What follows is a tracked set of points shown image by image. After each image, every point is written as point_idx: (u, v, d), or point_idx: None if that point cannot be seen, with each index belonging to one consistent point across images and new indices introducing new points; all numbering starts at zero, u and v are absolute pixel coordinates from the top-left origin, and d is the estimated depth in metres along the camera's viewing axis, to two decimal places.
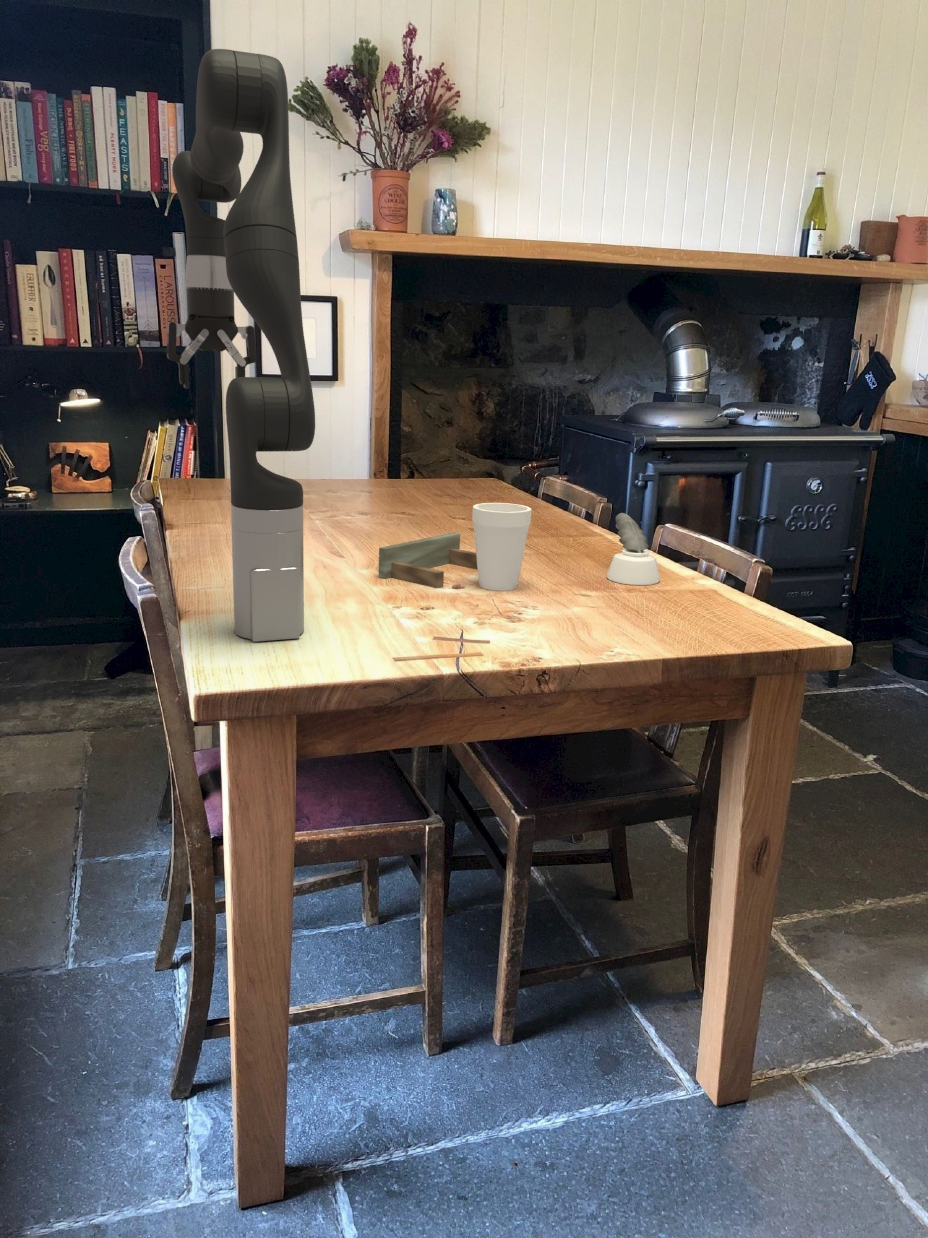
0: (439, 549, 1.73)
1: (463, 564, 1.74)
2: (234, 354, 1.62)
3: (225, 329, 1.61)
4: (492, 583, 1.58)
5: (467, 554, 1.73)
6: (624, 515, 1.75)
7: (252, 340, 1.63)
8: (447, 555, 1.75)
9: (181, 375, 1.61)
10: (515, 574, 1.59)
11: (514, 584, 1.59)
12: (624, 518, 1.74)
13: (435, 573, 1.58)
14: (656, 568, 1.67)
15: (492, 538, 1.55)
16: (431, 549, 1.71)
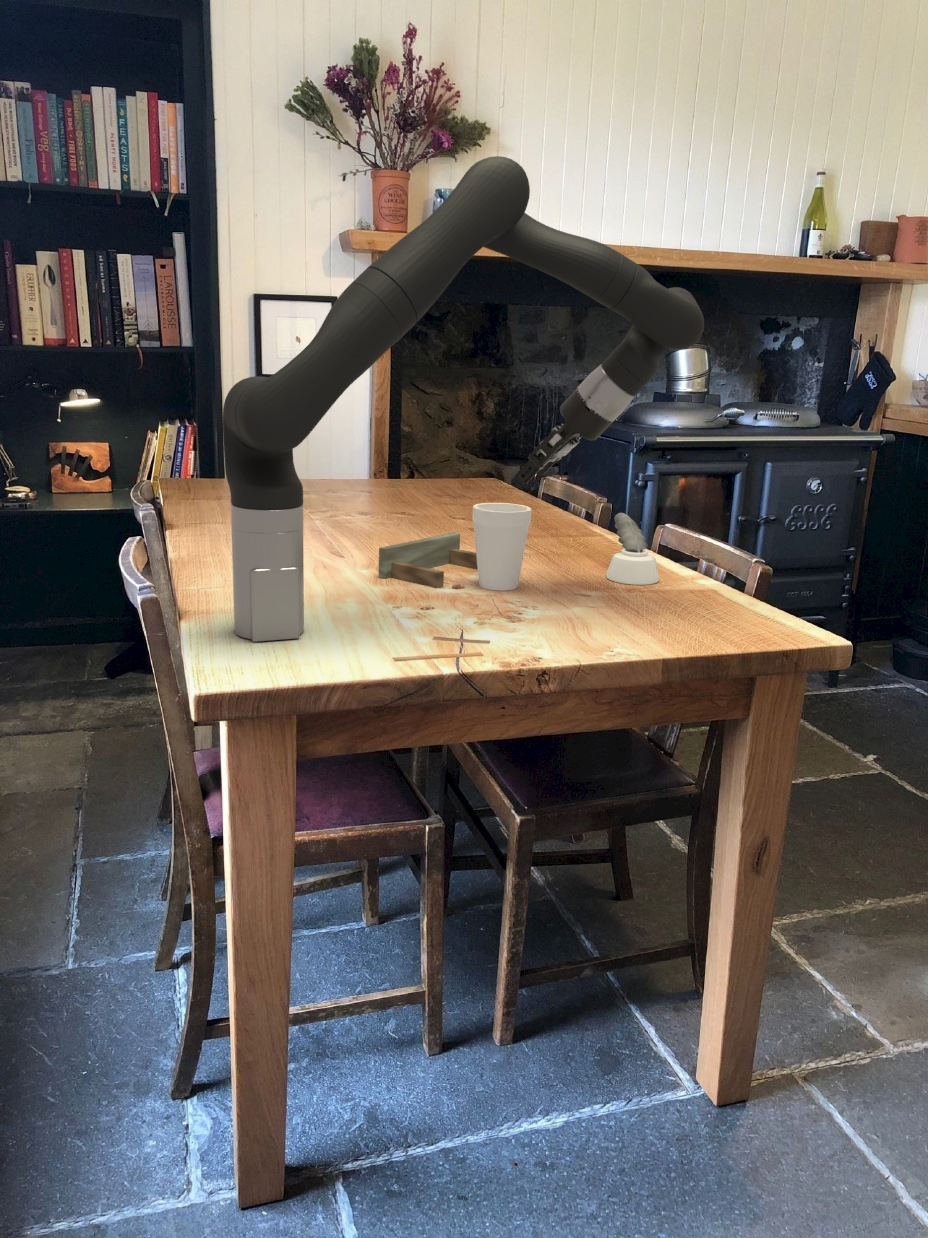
0: (439, 549, 1.73)
1: (463, 564, 1.74)
2: None
3: None
4: (492, 583, 1.58)
5: (467, 554, 1.73)
6: (623, 515, 1.75)
7: (543, 440, 1.47)
8: (447, 555, 1.75)
9: None
10: (515, 574, 1.59)
11: (514, 584, 1.59)
12: (623, 518, 1.74)
13: (435, 573, 1.58)
14: (655, 568, 1.68)
15: (492, 538, 1.55)
16: (431, 549, 1.71)
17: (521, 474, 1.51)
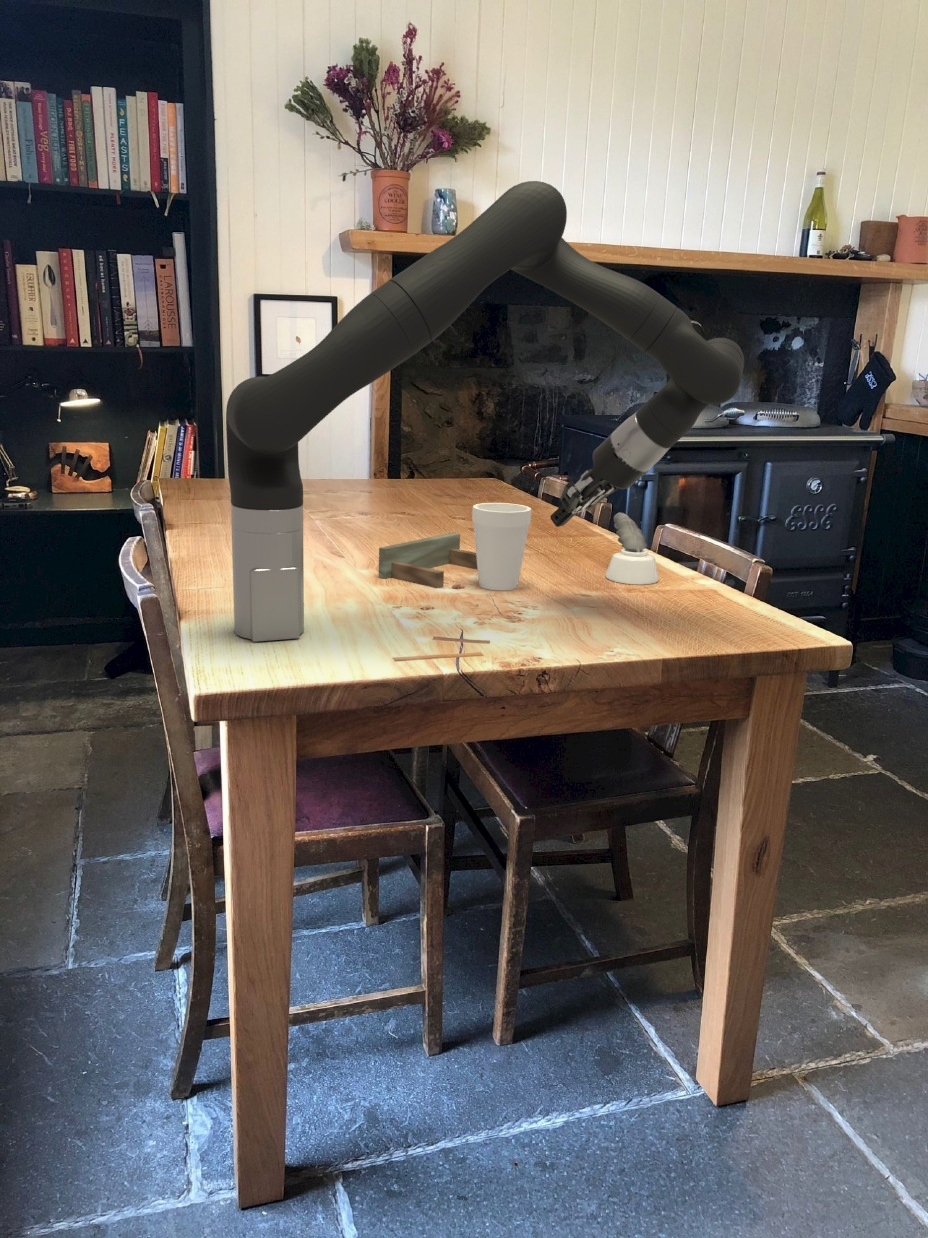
0: (439, 549, 1.73)
1: (463, 564, 1.74)
2: None
3: None
4: (492, 583, 1.58)
5: (467, 554, 1.73)
6: (622, 515, 1.75)
7: None
8: (447, 555, 1.75)
9: None
10: (515, 574, 1.59)
11: (514, 584, 1.59)
12: (622, 518, 1.74)
13: (435, 573, 1.58)
14: (655, 567, 1.68)
15: (492, 538, 1.55)
16: (431, 549, 1.71)
17: (555, 516, 1.51)
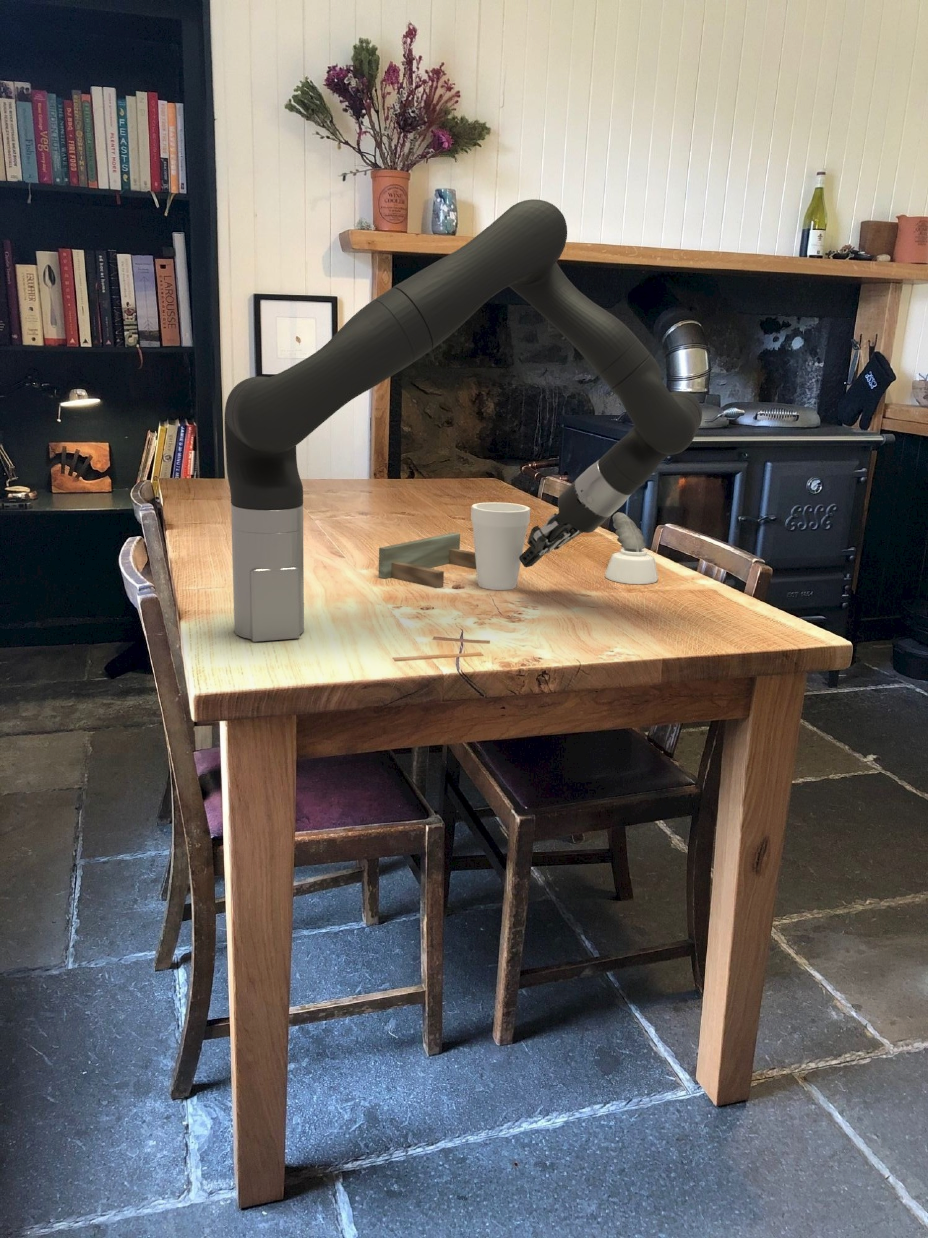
0: (439, 549, 1.73)
1: (463, 564, 1.74)
2: None
3: None
4: (491, 583, 1.58)
5: (467, 554, 1.73)
6: (621, 514, 1.75)
7: None
8: (447, 555, 1.75)
9: None
10: (514, 573, 1.59)
11: (513, 584, 1.60)
12: (621, 517, 1.74)
13: (435, 573, 1.58)
14: (654, 567, 1.68)
15: (491, 538, 1.55)
16: (431, 549, 1.71)
17: (523, 557, 1.56)
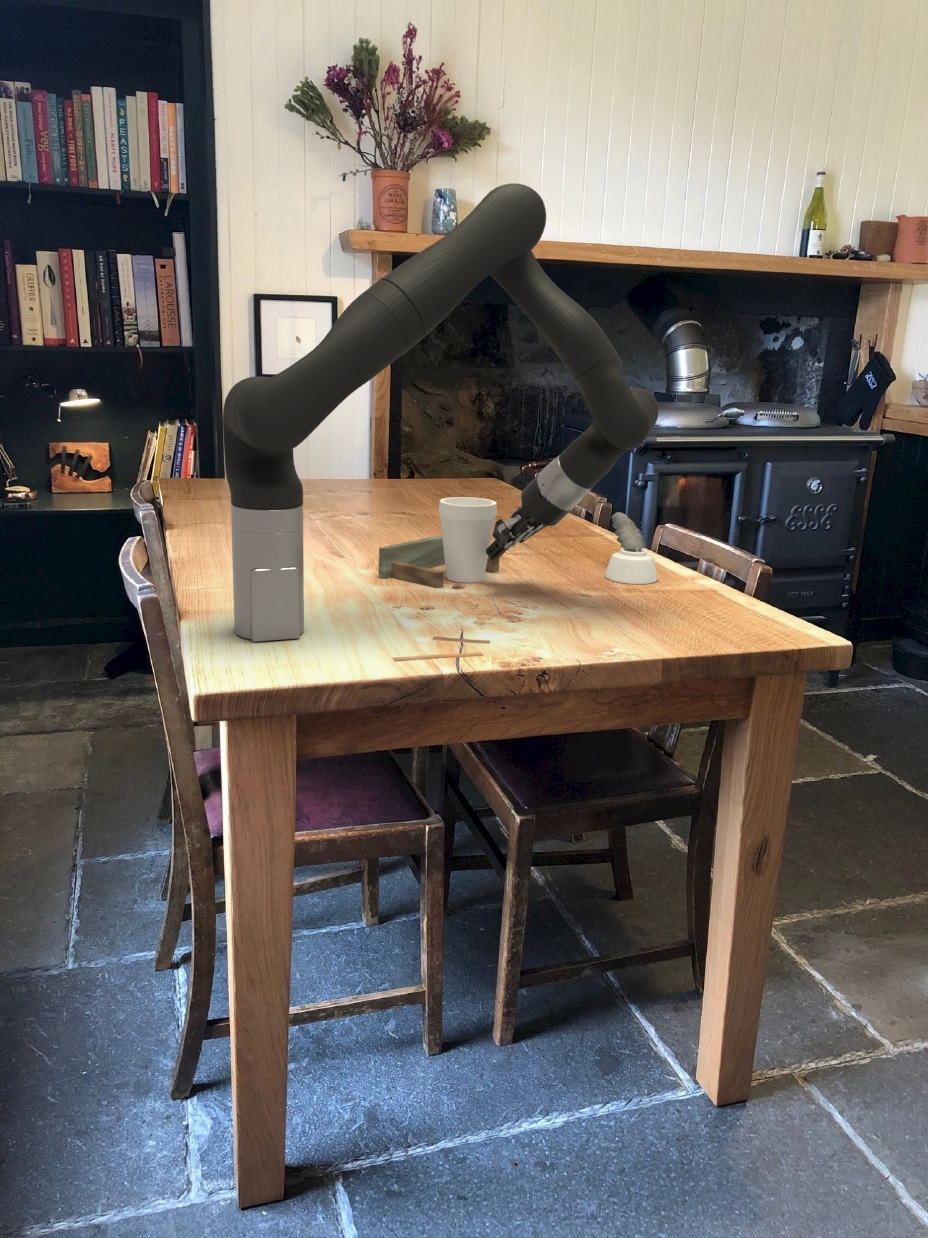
0: (439, 549, 1.73)
1: None
2: None
3: None
4: (459, 575, 1.62)
5: None
6: (621, 514, 1.75)
7: None
8: None
9: None
10: (481, 566, 1.63)
11: (480, 576, 1.64)
12: (621, 517, 1.74)
13: (435, 573, 1.58)
14: (654, 567, 1.68)
15: (458, 531, 1.59)
16: (431, 549, 1.71)
17: (489, 550, 1.59)
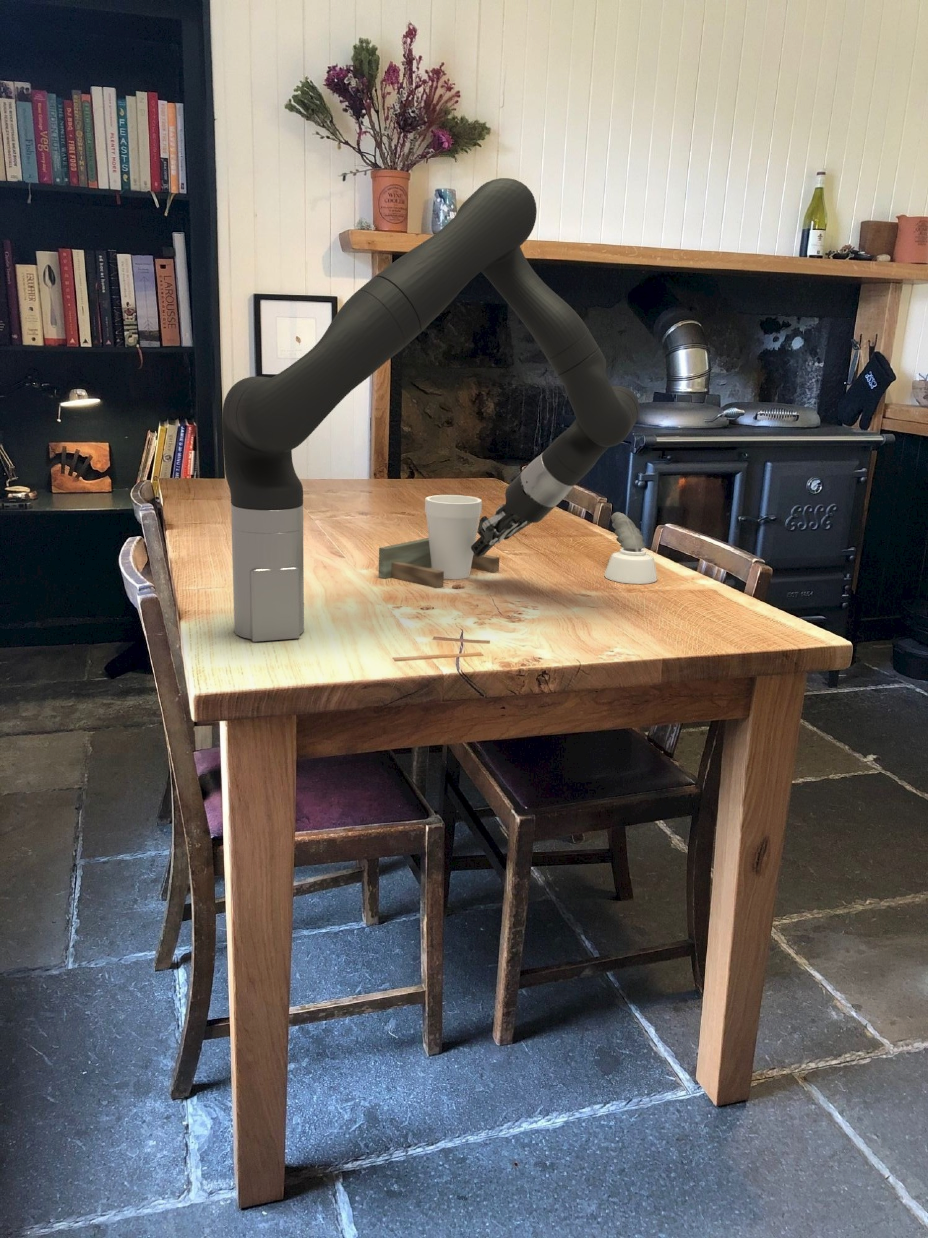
0: None
1: None
2: None
3: None
4: (444, 572, 1.64)
5: None
6: (620, 514, 1.75)
7: None
8: None
9: None
10: (466, 563, 1.65)
11: (466, 573, 1.66)
12: (621, 517, 1.74)
13: (435, 573, 1.58)
14: (654, 567, 1.68)
15: (444, 529, 1.61)
16: None
17: (474, 546, 1.61)
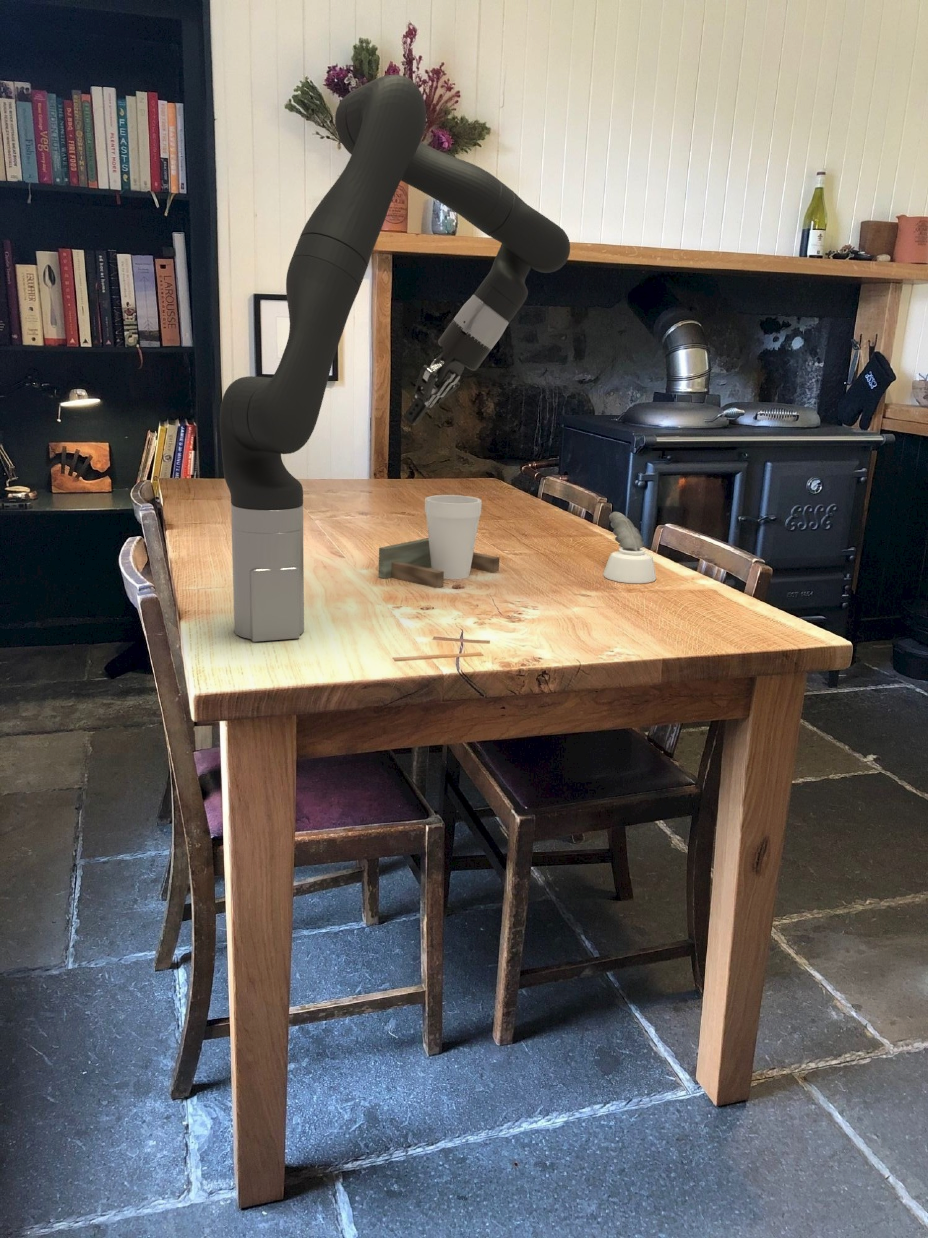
0: None
1: None
2: None
3: None
4: (444, 572, 1.64)
5: None
6: (618, 514, 1.76)
7: None
8: None
9: None
10: (466, 563, 1.65)
11: (466, 573, 1.66)
12: (619, 517, 1.75)
13: (435, 573, 1.58)
14: (653, 566, 1.69)
15: (443, 529, 1.61)
16: None
17: (409, 412, 1.57)
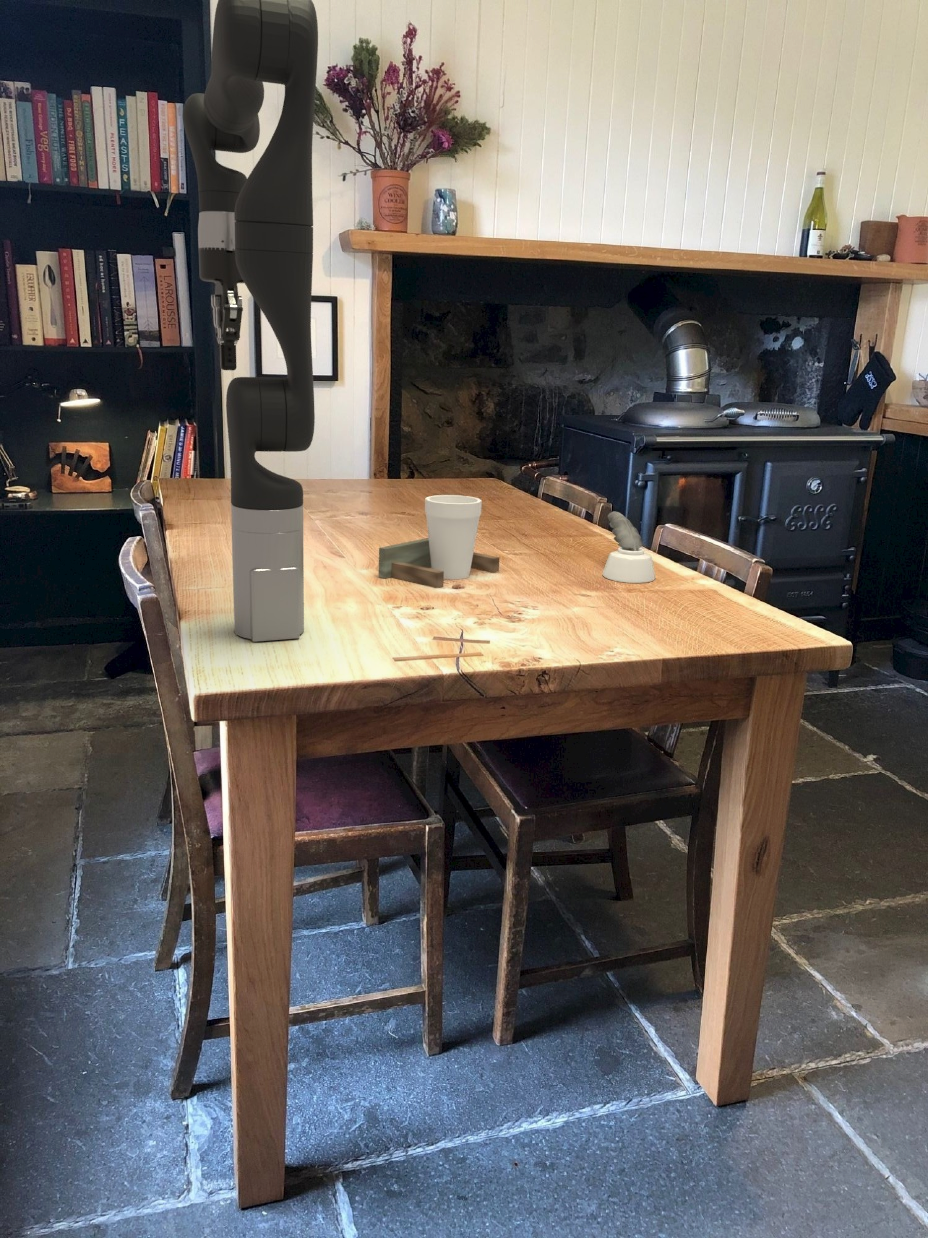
0: None
1: None
2: None
3: (221, 289, 1.42)
4: (444, 572, 1.64)
5: None
6: (617, 513, 1.76)
7: (223, 318, 1.41)
8: None
9: None
10: (466, 563, 1.65)
11: (466, 573, 1.66)
12: (618, 516, 1.75)
13: (435, 573, 1.58)
14: (652, 566, 1.69)
15: (443, 529, 1.61)
16: None
17: (227, 360, 1.46)
